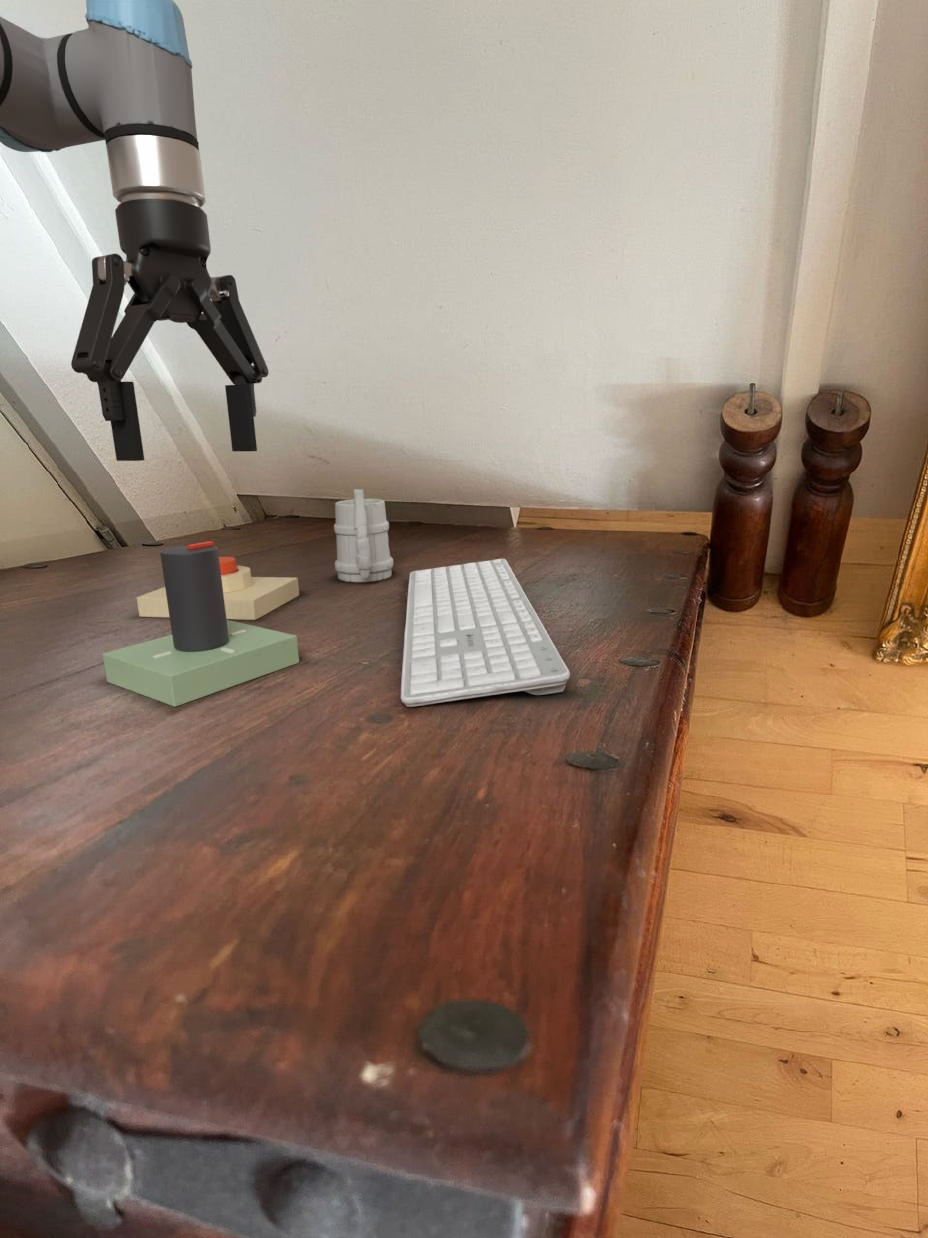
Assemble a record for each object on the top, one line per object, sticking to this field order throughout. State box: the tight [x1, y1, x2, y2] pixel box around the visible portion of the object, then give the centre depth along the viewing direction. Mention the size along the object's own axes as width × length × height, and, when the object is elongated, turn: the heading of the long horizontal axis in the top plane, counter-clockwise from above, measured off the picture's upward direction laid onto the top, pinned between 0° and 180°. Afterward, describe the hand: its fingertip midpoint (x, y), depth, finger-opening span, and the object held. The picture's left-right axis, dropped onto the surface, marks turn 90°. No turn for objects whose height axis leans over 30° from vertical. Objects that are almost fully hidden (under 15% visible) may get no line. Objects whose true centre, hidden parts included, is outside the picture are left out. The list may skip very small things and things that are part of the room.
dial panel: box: [102, 619, 300, 708], centre depth 63 cm, size 10×12×3 cm
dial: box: [159, 540, 229, 651], centre depth 61 cm, size 4×4×8 cm
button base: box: [136, 565, 300, 621], centre depth 85 cm, size 14×11×4 cm
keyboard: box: [400, 558, 571, 708], centre depth 75 cm, size 44×12×2 cm, turn 3°
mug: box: [333, 488, 394, 583], centre depth 95 cm, size 8×12×12 cm, turn 8°
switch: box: [219, 556, 237, 575], centre depth 84 cm, size 4×4×2 cm
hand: (192, 455), depth 71 cm, fingers open, 13 cm apart
